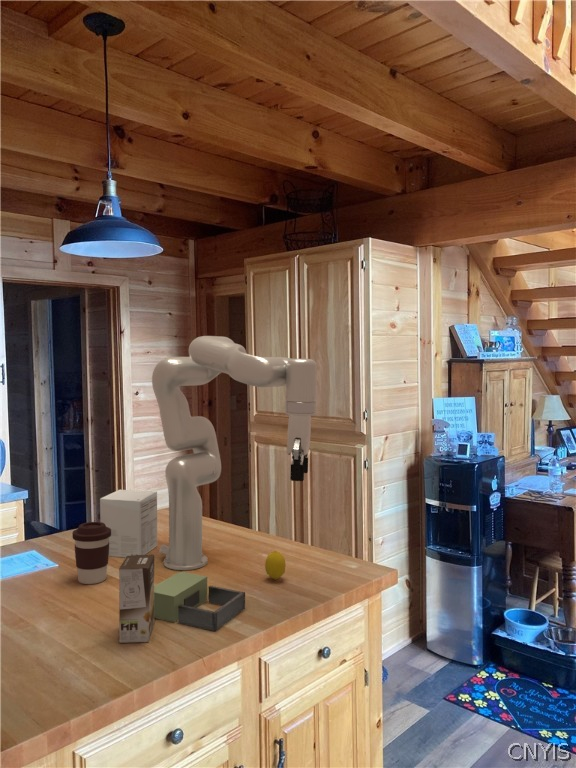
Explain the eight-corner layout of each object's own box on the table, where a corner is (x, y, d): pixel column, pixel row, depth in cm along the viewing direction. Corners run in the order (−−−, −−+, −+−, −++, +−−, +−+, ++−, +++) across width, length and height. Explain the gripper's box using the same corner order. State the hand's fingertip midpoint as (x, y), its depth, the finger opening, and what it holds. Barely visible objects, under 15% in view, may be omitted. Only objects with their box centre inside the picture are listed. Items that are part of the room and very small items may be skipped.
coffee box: (149, 642, 132) (149, 568, 131) (118, 643, 131) (118, 568, 131) (155, 623, 141) (154, 554, 140) (126, 624, 141) (126, 554, 140)
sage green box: (145, 615, 145) (145, 590, 145) (180, 594, 158) (180, 571, 158) (175, 622, 142) (175, 596, 141) (208, 600, 154) (208, 576, 154)
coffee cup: (119, 576, 170) (118, 522, 169) (93, 589, 161) (93, 532, 160) (91, 571, 174) (90, 518, 173) (64, 582, 165) (64, 527, 164)
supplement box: (158, 545, 197) (158, 491, 196) (140, 559, 184) (140, 500, 183) (119, 542, 200) (119, 488, 199) (99, 555, 187) (98, 498, 186)
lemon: (283, 584, 166) (283, 554, 165) (262, 582, 167) (263, 553, 166) (287, 577, 171) (287, 548, 171) (267, 575, 172) (267, 546, 172)
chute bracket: (178, 622, 142) (178, 605, 141) (210, 601, 154) (210, 585, 154) (215, 631, 137) (215, 613, 137) (245, 608, 150) (245, 592, 150)
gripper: (290, 404, 164) (289, 469, 165) (280, 411, 146) (279, 483, 147) (318, 405, 163) (317, 470, 164) (312, 412, 145) (311, 484, 146)
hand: (299, 476), depth 156 cm, fingers open, 9 cm apart
